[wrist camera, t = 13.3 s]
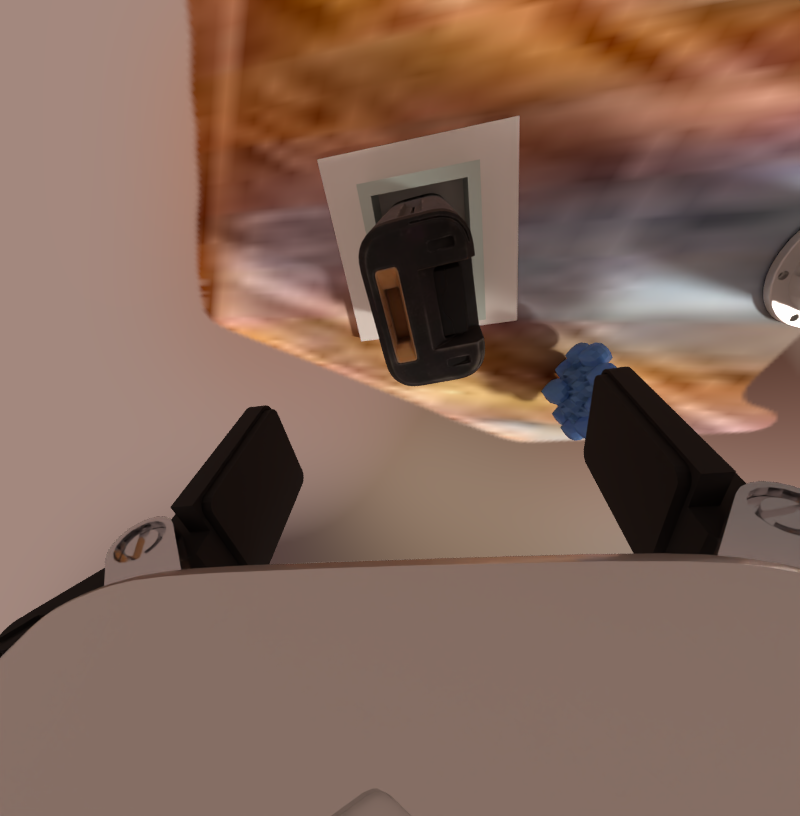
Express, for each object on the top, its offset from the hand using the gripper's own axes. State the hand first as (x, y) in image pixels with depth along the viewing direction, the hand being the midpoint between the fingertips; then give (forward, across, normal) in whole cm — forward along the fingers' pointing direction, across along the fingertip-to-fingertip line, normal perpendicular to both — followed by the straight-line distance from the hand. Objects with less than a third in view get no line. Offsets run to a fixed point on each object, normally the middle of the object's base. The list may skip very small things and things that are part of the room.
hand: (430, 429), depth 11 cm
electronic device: (+31, +1, 0) cm, 31 cm away
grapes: (+32, -14, +16) cm, 38 cm away
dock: (+32, 0, 0) cm, 32 cm away
